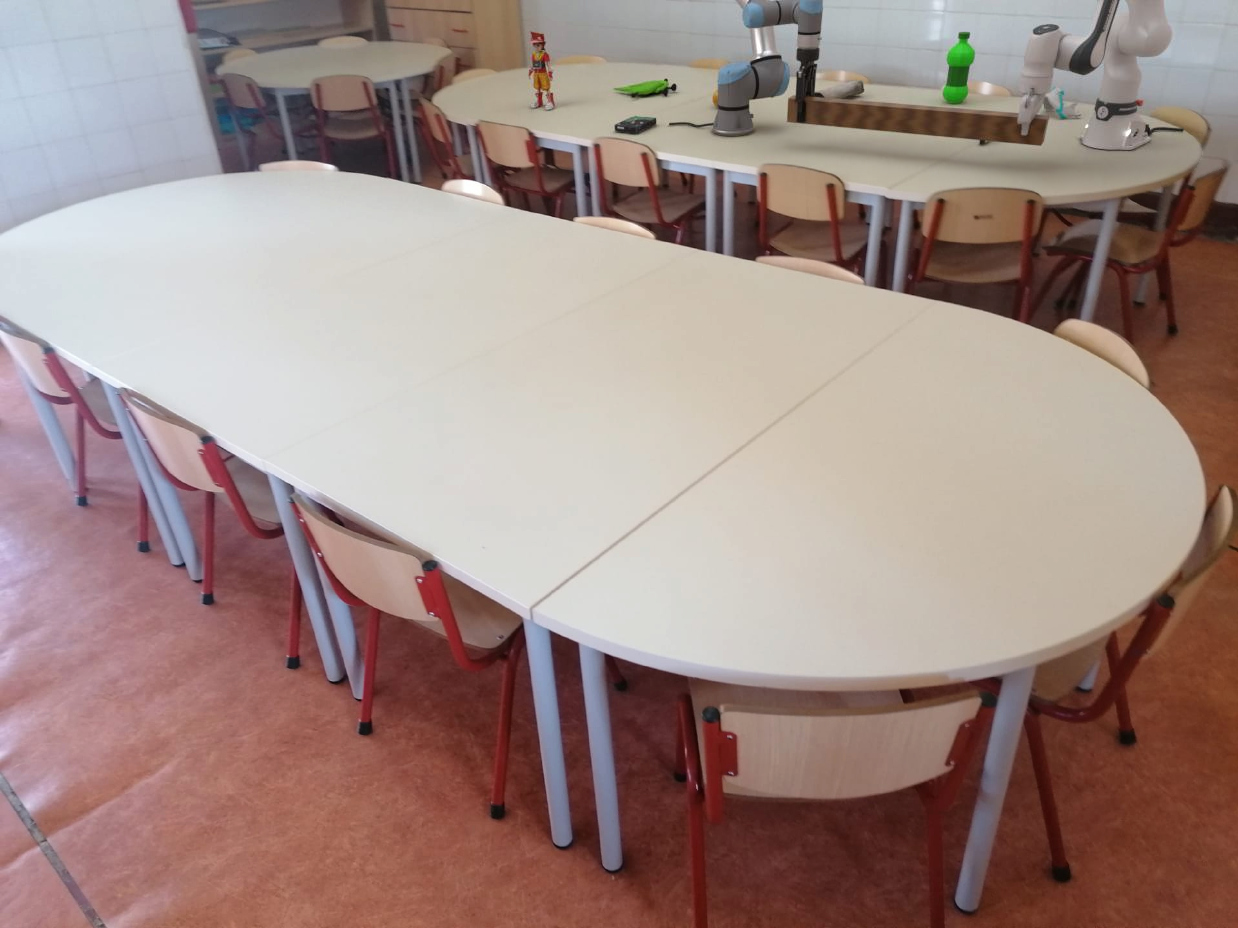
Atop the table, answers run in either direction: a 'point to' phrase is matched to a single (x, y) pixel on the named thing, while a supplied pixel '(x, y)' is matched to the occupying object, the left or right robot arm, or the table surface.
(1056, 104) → the anatomical model
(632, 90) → the toy
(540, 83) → the toy
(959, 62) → the plastic bottle
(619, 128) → the disk drive
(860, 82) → the rolled mat
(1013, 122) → the bar
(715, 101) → the fruit
